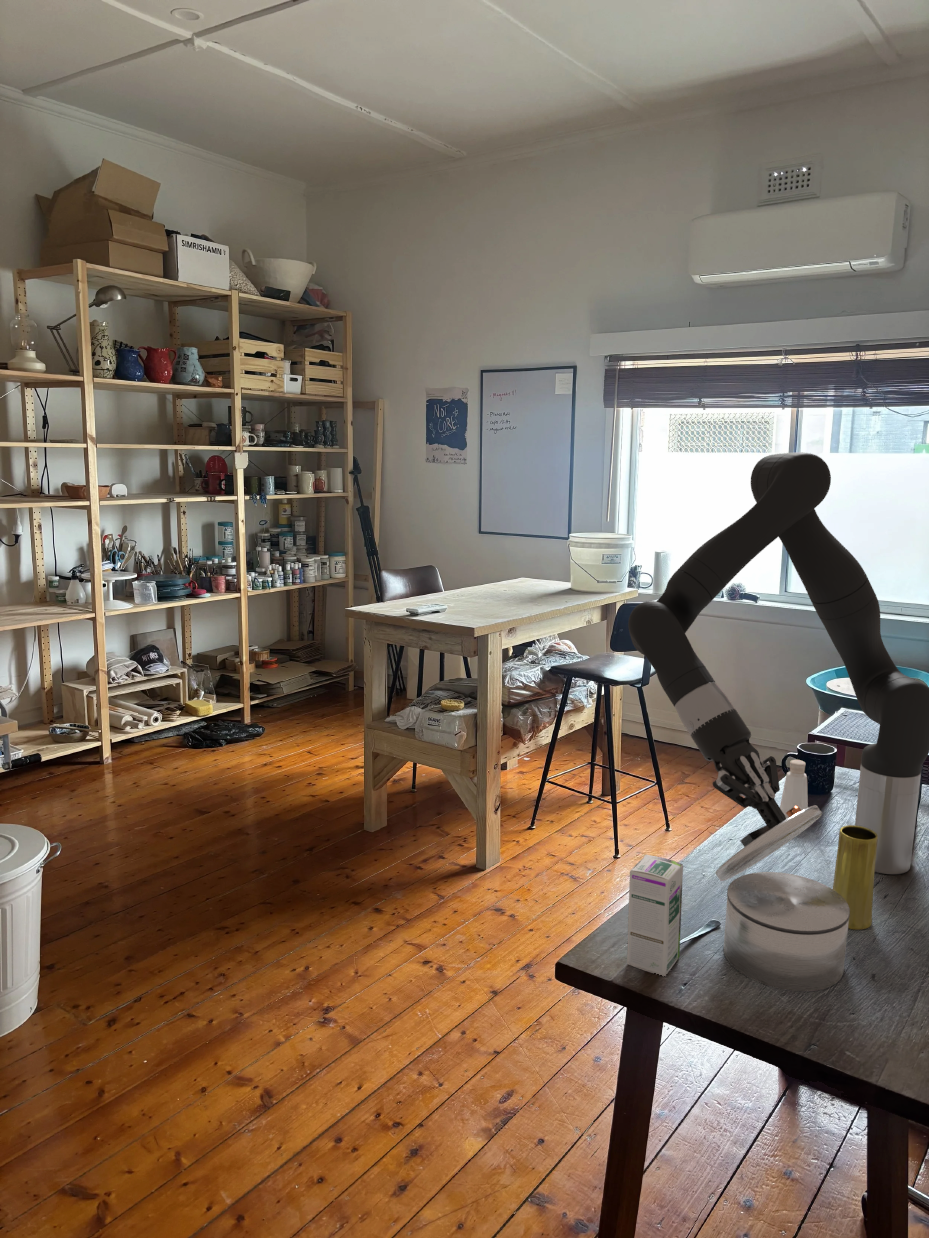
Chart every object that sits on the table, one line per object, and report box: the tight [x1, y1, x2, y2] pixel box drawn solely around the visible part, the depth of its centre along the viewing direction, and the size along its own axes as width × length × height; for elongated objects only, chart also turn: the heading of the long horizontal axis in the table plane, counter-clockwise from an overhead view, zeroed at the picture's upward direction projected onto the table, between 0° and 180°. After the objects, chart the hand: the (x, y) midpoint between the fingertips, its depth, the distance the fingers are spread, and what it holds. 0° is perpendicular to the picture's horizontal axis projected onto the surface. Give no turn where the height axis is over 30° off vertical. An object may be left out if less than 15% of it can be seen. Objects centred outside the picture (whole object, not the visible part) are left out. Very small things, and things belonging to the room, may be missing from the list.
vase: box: [832, 824, 878, 931], centre depth 137 cm, size 6×6×14 cm
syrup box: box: [626, 854, 684, 977], centre depth 125 cm, size 6×6×14 cm
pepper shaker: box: [779, 759, 809, 819], centre depth 174 cm, size 5×5×11 cm
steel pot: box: [723, 871, 850, 993], centre depth 127 cm, size 16×16×9 cm
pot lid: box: [714, 804, 823, 882], centre depth 128 cm, size 17×17×3 cm
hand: (780, 827), depth 126 cm, fingers closed
